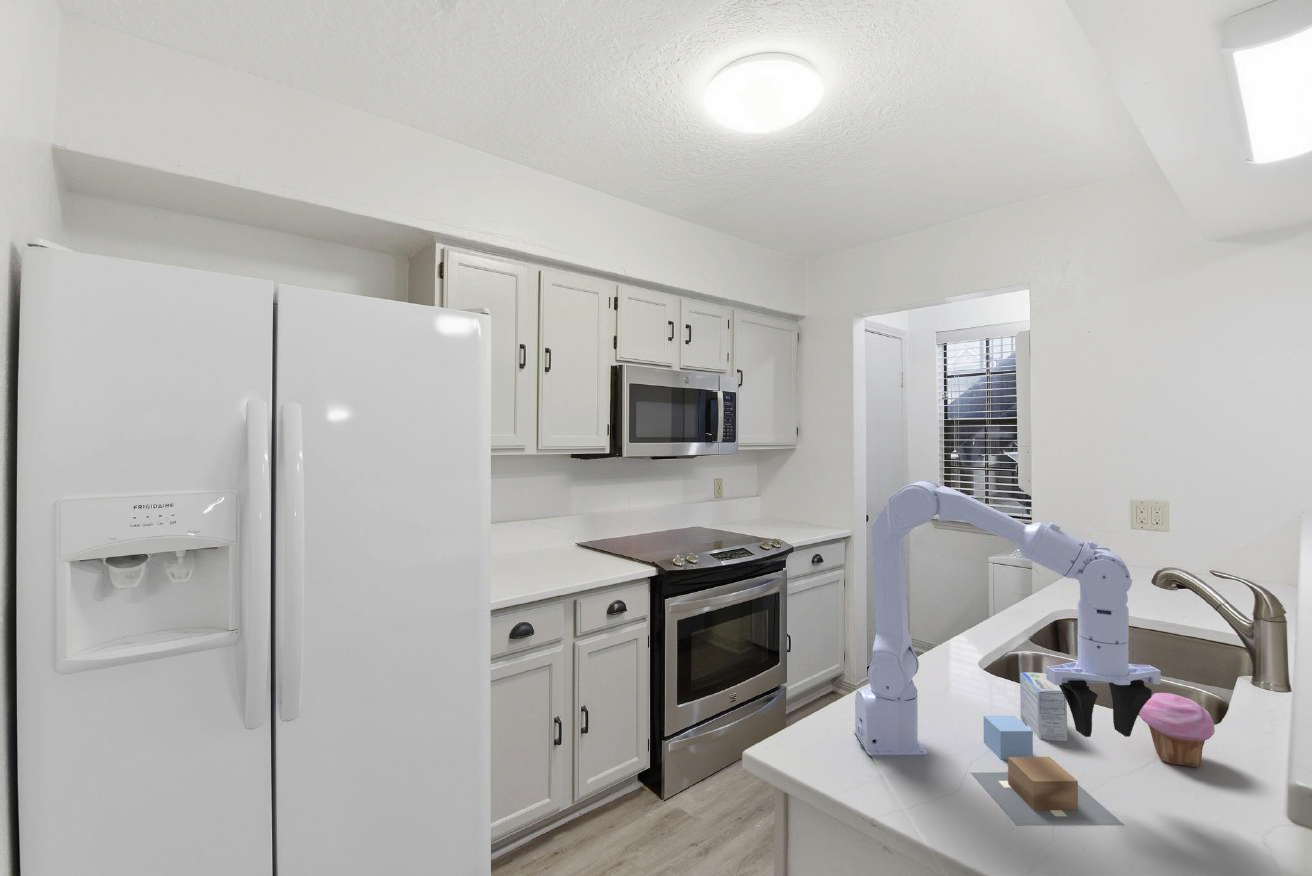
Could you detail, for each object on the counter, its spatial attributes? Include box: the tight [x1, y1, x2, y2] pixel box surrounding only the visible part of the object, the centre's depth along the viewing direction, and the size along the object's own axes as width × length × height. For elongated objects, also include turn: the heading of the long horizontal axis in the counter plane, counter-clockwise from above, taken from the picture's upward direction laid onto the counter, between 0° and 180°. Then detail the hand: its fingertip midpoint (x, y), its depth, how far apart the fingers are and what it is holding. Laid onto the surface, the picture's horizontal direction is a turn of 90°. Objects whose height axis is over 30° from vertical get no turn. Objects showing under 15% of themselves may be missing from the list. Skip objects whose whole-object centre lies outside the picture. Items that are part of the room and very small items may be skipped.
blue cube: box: [983, 715, 1034, 761], centre depth 96 cm, size 5×5×5 cm
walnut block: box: [1007, 756, 1079, 810], centre depth 84 cm, size 6×6×4 cm
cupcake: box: [1138, 692, 1215, 768], centre depth 94 cm, size 9×9×10 cm
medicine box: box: [1019, 671, 1069, 742], centre depth 103 cm, size 8×4×9 cm, turn 168°
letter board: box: [970, 771, 1125, 827], centre depth 84 cm, size 14×12×1 cm
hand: (1102, 733), depth 84 cm, fingers open, 5 cm apart
